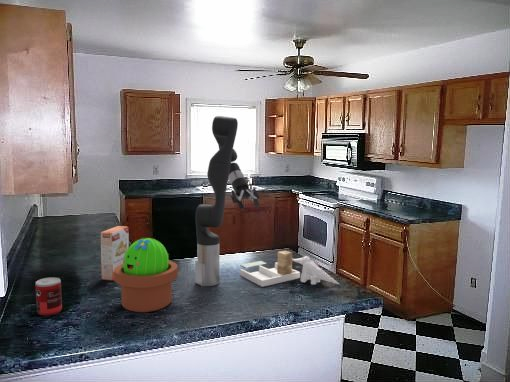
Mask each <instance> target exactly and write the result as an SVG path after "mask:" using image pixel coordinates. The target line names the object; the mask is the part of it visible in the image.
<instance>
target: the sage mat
mask: <svg viewBox="0 0 510 382" xmlns="http://www.w3.org/2000/svg"><path fill="white" fill-rule="evenodd" d="M265 264H267V262H265V261H263V260H258V261H257V260H256V261H253V262H249V263H248V262H247V263H241V264H240V266H241V267H242V268H244V269H245V268H250V267H251V268H252V267H256V266H260V265H261V266H263V265H265Z"/></svg>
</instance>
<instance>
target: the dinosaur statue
mask: <svg viewBox="0 0 510 382" xmlns="http://www.w3.org/2000/svg"><path fill="white" fill-rule="evenodd" d="M292 262H295V263H297V264H300V265H302V269H301V273H300V282H301V283H306V282H307V281H310V284H311V285H317V284H318V283H320V282H321V280H322V281H325V282H329V283H333V284H336V285H340V282H338V281H337V280H336V279H334V277H331V275H329V274H328V273H327V272H326V270H323V268H322V267H321V268H320V267H319V265H318V264H317V263H315V261H314V260H311V258H310V256H308V255H305V256H302V257H300V258H292Z"/></svg>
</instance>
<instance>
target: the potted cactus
mask: <svg viewBox="0 0 510 382" xmlns="http://www.w3.org/2000/svg"><path fill="white" fill-rule="evenodd" d="M178 269H179V267H178V264H177V263H176V262H174V261H172V260H170V259H169V253H168V251H167V249H166V247H165V246H164V243H163V244H162V242H160V241H159V240H157V239H155V238H151V237H143V236H142V237H141V238H140V239H135V241H134V242H133V243H132V244H131V243H130V245H129V248H128V249H127V251H126V253H125V256H124V259H123V264H121V265H119V266H117V267H116V268H115V269H114V280H113V281H114V282H115V283H116V284H117V285H119V286H120V289H121V294H120V295H121V306H122V307H123V308H124V309H125V310H128V311H131V312H135V313H150V312H155V311H159V310H161V309H164V308H165V307H167V306H169V305H170V304H171V303H172V299H173V298H172V297H173V295H172V294H173V293H172V289H173V288H172V282H173V281H175V280H176V279H177V278H178V276H179V273H178V272H179V271H178Z"/></svg>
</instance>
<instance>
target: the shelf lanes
mask: <svg viewBox="0 0 510 382" xmlns="http://www.w3.org/2000/svg"><path fill="white" fill-rule="evenodd" d="M277 262H278V261H276V262H274V267H273V268H268V267H265V266H263V265H258V271H257V270H256V271H253V272H249V271H246V270H245V269H243V268H240V269H239V276H241V277H243V278H245V279H247V280H249V281H250V282H252V283H255V285H258V286H260V287H268V286H271V285H276V284H279V283H280V284H281V283H283V282H288V281H289V282H290V281H294V280H298V279H301V272H300V271H299V270H296V269H293V268H292V273H290V274H286V275H281V274H278V273H277Z"/></svg>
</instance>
